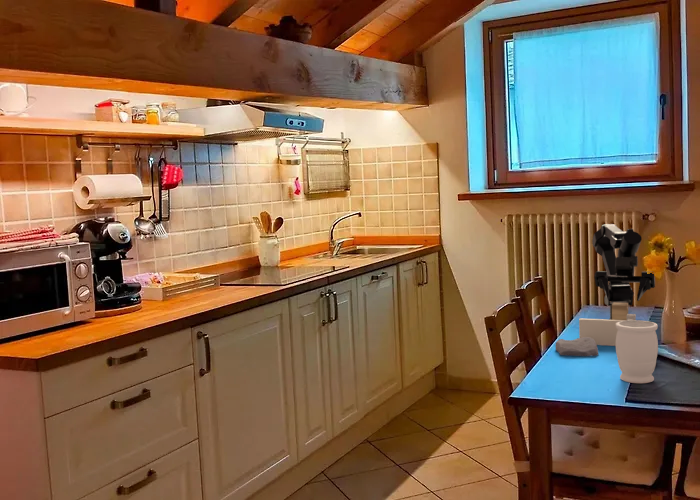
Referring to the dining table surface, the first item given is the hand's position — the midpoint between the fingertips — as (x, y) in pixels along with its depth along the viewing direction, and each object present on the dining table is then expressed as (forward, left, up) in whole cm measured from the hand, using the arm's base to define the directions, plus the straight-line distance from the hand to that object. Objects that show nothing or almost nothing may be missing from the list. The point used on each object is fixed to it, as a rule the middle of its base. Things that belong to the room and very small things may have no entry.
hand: (622, 299), depth 243 cm
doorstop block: (+6, 0, -12) cm, 14 cm away
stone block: (+26, -10, -13) cm, 31 cm away
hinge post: (+13, +4, -12) cm, 18 cm away
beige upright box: (+13, -5, -12) cm, 18 cm away
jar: (+50, +9, -12) cm, 53 cm away
